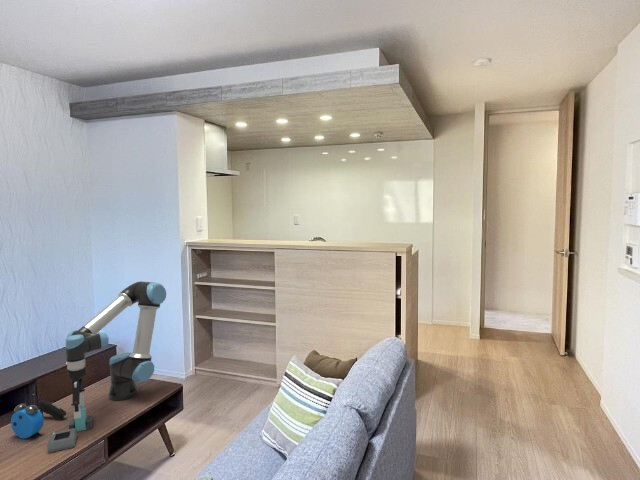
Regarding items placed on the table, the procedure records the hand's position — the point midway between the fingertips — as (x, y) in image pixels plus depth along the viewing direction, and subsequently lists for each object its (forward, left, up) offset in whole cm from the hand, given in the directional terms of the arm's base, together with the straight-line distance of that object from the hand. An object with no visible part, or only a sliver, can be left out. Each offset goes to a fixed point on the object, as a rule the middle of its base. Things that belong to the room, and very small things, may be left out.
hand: (79, 411), depth 200 cm
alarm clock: (+22, -4, -9) cm, 24 cm away
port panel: (+6, +12, -9) cm, 16 cm away
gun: (+14, -18, -9) cm, 25 cm away
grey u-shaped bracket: (0, 0, -9) cm, 9 cm away
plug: (0, 0, -9) cm, 9 cm away
